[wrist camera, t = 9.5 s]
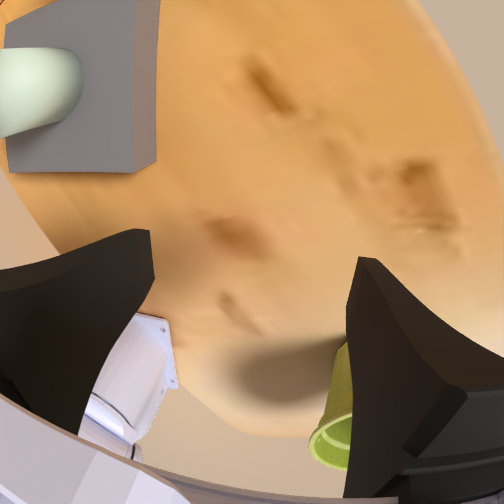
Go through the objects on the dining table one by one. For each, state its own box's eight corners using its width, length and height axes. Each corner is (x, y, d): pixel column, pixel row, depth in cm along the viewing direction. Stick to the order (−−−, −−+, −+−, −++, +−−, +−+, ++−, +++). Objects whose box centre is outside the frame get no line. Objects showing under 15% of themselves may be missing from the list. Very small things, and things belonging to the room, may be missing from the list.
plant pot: (303, 323, 24) (295, 418, 16) (424, 299, 21) (457, 389, 14) (324, 395, 28) (319, 476, 20) (422, 378, 25) (438, 458, 18)
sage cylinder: (85, 116, 16) (27, 131, 12) (33, 127, 17) (-21, 145, 13) (83, 38, 14) (23, 35, 9) (29, 59, 15) (-26, 65, 10)
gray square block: (156, 161, 20) (134, 172, 17) (34, 162, 22) (9, 172, 19) (161, -13, 14) (139, -25, 12) (32, 25, 16) (5, 24, 13)
